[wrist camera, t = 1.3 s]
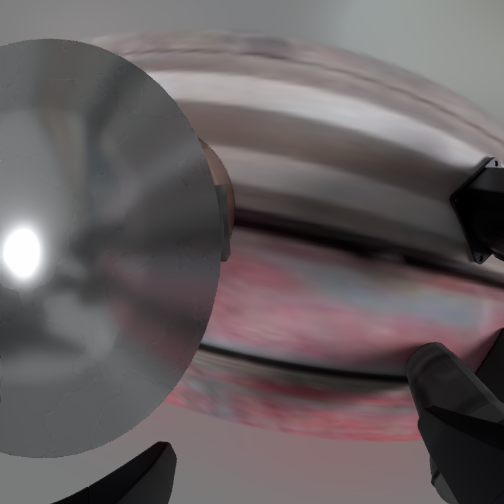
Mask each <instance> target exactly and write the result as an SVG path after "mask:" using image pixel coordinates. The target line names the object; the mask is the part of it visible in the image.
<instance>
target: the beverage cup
mask: <svg viewBox="0 0 504 504" xmlns="http://www.w3.org/2000/svg"><path fill="white" fill-rule="evenodd" d="M405 372H406V376H407V378H408V382H409V387H410V390H411V393H412V396H413V399H414V402H415V405H416V408H417V412H418V415H419V417H420V414H421V412H422V409H423V408H424V407H427V406H430V405H435V406H439V407H442V408H445V409H448V410H452V411H455V412H458V413H462V414H465V415H469V416H472V417H476V418H480V419H484V420H488V421H492V422H496V423H500V424H504V403H502V402H500V401H499V400H498V399H497V398H496V397H495V395H494V394H493V393H492V392H491V391H490V390H489V389H488V388H487V387H486V386H485V385H484V384H483V383H482V382H481V380H480V379H479V378H478V377H477V376H476V375H475V374H474V373H473V372H472V371H471V370H470V369H469V368H468V367H467V366H466V365H465V364H464V363H463V362H462V361H461V360H460V359H459V358H458V357H457V356H456V355H455V354H454V353H453V352H451V351H450V350H449V349H447V348H446V347H445V345H443V344H442V343H437V342H434V343H429V344H427V345H425V346H423V347H421V348H420V349H419V350H417V351H416V352H415V353H414V354H413V355H412V357H411V358H410V359H409V361H408V363H407V365H406V370H405ZM430 469H431V475H432V480H431V483H432V485H433V486H434V487H435V488H436V490H437V492H438V494H439V495H440V497H441V498H442V499H443V500H444V501H446V502H447V503H449V504H458V502H457V500H456V499H455V497H454V495H453V493H452V492H451V490H450V488H449V486H448V485H447V483H446V481H445V480H444V478H443V476H442V474H441V473H440V471H439V469H438V468H437V466H436V464H435V463H434V461H433V459H432V458H431V456H430Z"/></svg>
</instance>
